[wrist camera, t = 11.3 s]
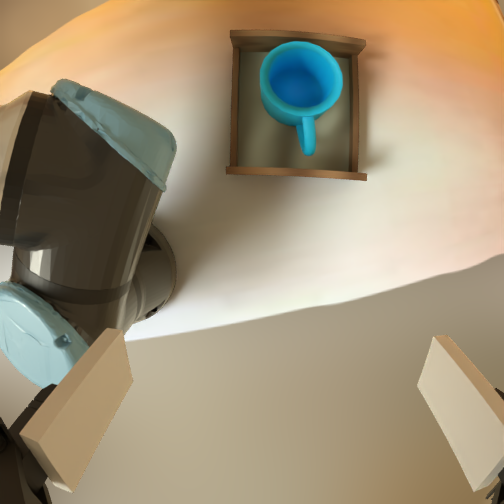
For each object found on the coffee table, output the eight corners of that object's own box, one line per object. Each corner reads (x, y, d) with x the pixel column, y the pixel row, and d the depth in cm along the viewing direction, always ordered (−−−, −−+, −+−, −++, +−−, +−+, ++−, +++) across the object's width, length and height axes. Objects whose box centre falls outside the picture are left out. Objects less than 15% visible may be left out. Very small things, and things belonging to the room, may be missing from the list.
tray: (232, 172, 38) (226, 174, 32) (235, 48, 33) (230, 30, 28) (352, 178, 37) (366, 180, 31) (352, 55, 33) (365, 39, 27)
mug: (255, 69, 34) (253, 45, 26) (320, 62, 33) (333, 38, 25) (271, 161, 37) (273, 160, 29) (337, 153, 36) (356, 150, 28)
